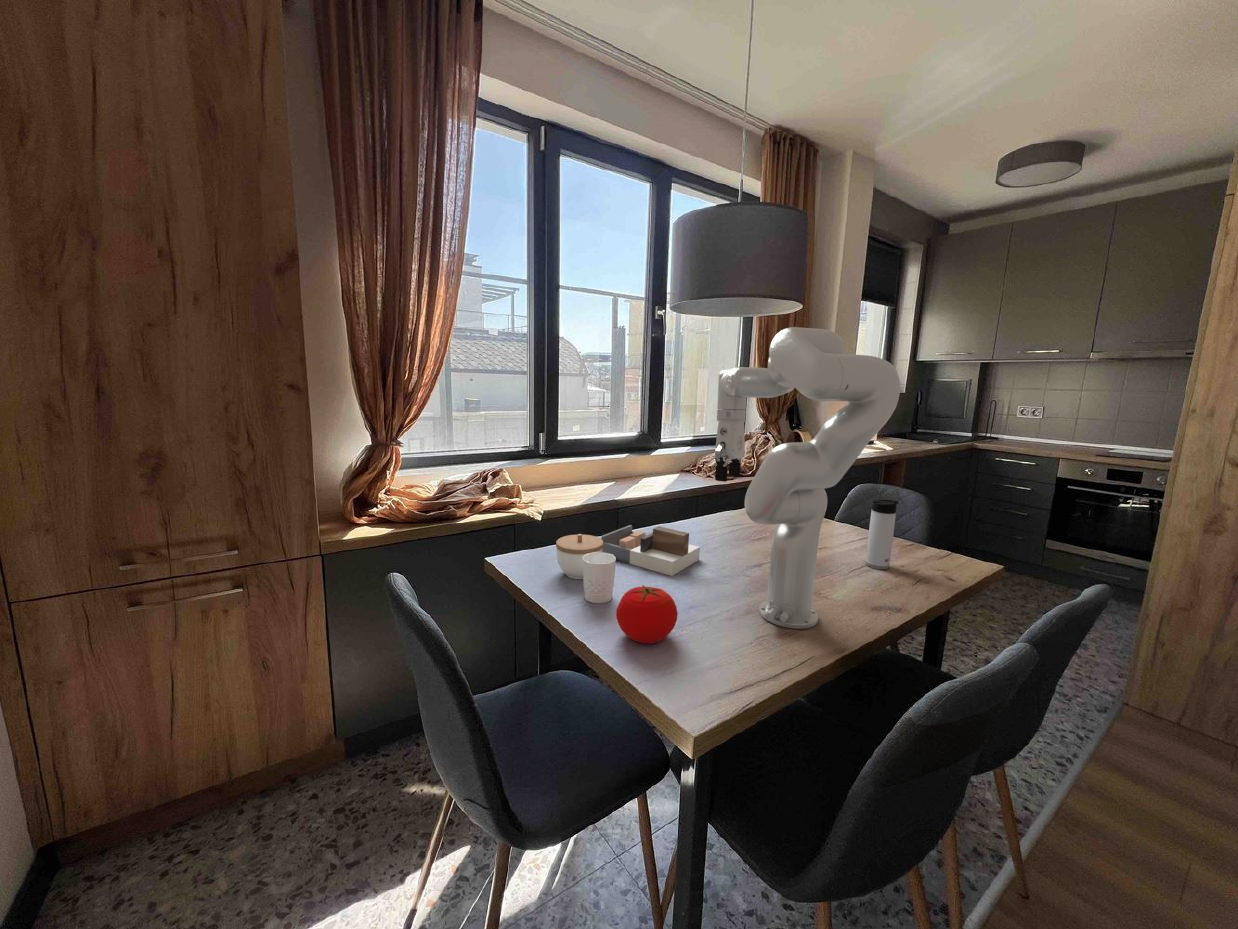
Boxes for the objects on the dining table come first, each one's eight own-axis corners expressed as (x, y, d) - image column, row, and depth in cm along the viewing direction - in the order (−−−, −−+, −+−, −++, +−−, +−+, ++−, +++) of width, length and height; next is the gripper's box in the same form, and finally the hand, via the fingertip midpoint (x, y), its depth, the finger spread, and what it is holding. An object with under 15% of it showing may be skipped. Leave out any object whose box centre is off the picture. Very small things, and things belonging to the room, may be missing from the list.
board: (671, 575, 130) (672, 561, 130) (629, 563, 138) (630, 550, 138) (699, 559, 143) (699, 546, 142) (658, 549, 151) (659, 537, 151)
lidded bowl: (556, 584, 123) (556, 543, 121) (555, 566, 135) (555, 528, 133) (605, 582, 125) (606, 541, 123) (599, 564, 137) (600, 527, 135)
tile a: (625, 541, 140) (619, 540, 142) (625, 558, 141) (618, 556, 142) (635, 537, 144) (629, 536, 145) (635, 553, 145) (628, 551, 146)
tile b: (636, 536, 145) (629, 534, 147) (635, 552, 146) (629, 550, 148) (645, 532, 150) (638, 530, 151) (644, 547, 150) (638, 546, 152)
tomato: (606, 633, 100) (607, 584, 98) (652, 617, 107) (653, 572, 105) (639, 658, 91) (641, 606, 89) (687, 640, 98) (689, 591, 96)
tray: (629, 563, 138) (630, 543, 137) (600, 555, 145) (601, 535, 144) (657, 550, 150) (658, 531, 149) (629, 542, 157) (630, 525, 156)
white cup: (607, 607, 111) (608, 566, 109) (576, 601, 114) (577, 560, 112) (619, 593, 118) (620, 555, 117) (589, 588, 121) (590, 550, 119)
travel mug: (892, 571, 138) (901, 503, 135) (866, 568, 140) (874, 501, 137) (888, 564, 144) (896, 498, 141) (863, 561, 146) (871, 496, 143)
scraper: (674, 560, 130) (675, 539, 129) (640, 551, 137) (640, 531, 136) (695, 549, 140) (696, 529, 139) (662, 541, 146) (663, 522, 145)
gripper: (732, 417, 121) (729, 484, 123) (755, 416, 135) (751, 476, 138) (705, 416, 125) (702, 481, 128) (729, 415, 139) (726, 473, 142)
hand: (727, 478), depth 133 cm, fingers open, 9 cm apart
